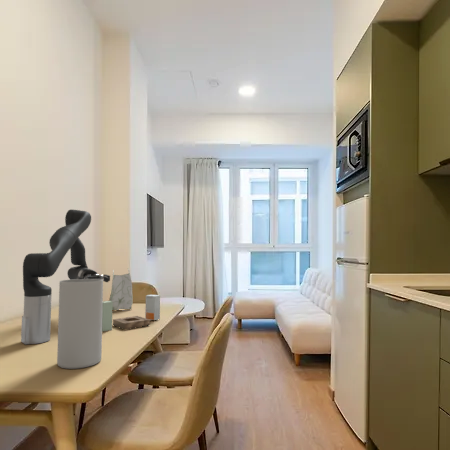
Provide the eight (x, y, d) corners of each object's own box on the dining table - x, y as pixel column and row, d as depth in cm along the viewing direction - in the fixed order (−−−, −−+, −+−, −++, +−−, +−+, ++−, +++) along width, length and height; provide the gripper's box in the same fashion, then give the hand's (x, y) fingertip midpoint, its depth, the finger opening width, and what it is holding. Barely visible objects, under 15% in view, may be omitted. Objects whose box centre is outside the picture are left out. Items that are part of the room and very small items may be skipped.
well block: (124, 330, 149) (125, 323, 149) (112, 325, 158) (113, 319, 158) (149, 325, 157) (149, 319, 157) (136, 321, 166) (136, 315, 166)
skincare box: (144, 320, 170) (145, 295, 171) (150, 318, 174) (150, 294, 175) (154, 321, 167) (155, 296, 168) (160, 319, 171) (160, 295, 172)
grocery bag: (110, 303, 226) (111, 267, 227) (132, 302, 229) (133, 267, 231) (107, 311, 195) (107, 270, 197) (132, 310, 199) (133, 269, 200)
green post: (102, 331, 147) (103, 302, 147) (99, 329, 150) (99, 301, 150) (112, 330, 149) (112, 301, 150) (108, 328, 152) (108, 300, 153)
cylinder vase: (106, 356, 112) (108, 278, 114) (93, 369, 100) (95, 282, 102) (67, 356, 112) (69, 278, 114) (49, 370, 100) (52, 282, 101)
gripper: (72, 269, 167) (82, 273, 154) (102, 268, 176) (113, 271, 163) (72, 285, 167) (82, 290, 154) (102, 282, 176) (113, 287, 163)
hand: (98, 280), depth 159 cm, fingers open, 8 cm apart
